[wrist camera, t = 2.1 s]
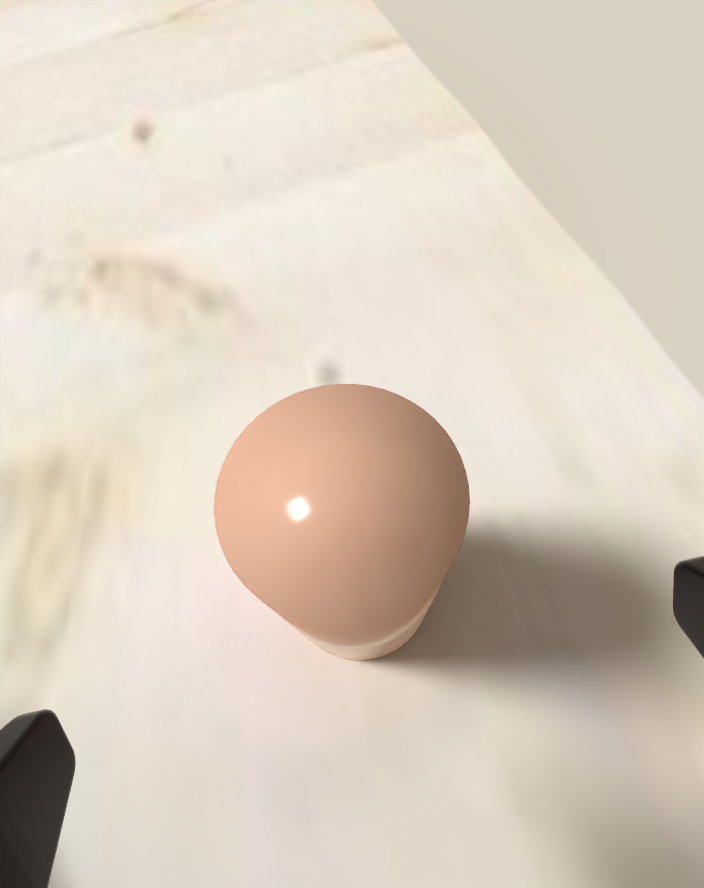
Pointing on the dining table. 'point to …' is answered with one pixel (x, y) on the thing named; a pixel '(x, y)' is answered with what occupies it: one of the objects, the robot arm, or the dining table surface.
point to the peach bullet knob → (344, 515)
